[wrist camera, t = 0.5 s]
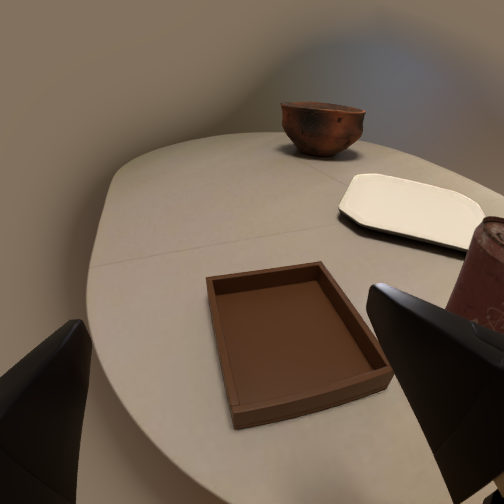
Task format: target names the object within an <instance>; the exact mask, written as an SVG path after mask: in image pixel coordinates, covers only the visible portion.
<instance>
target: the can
mask: <svg viewBox="0 0 504 504" xmlns="http://www.w3.org/2000/svg"><path fill="white" fill-rule="evenodd" d="M445 310H447V311H450V312H452V313H454V314H457V315H459V316H461V317H464V318H466V319H468V320H470V321H473V322H475V323H477V324H480V325H482V326H484V327H487V328H489V329H491V330H494V331H497V332H499V333H502V334H504V218H500V217H495V216H488V217H485V218H483V220H482V222H481V223H480V224H479V225H478V226H477V227H476V229H475V231H474V233H473V236H472V239H471V242H470V246H469V249H468V252H467V255H466V257H465V260H464V263H463V266H462V269H461V271H460V274H459V277H458V279H457V282H456V284H455V287H454V289H453V292H452V294H451V297H450V299H449V301H448V304H447V306H446V308H445Z"/></svg>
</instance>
